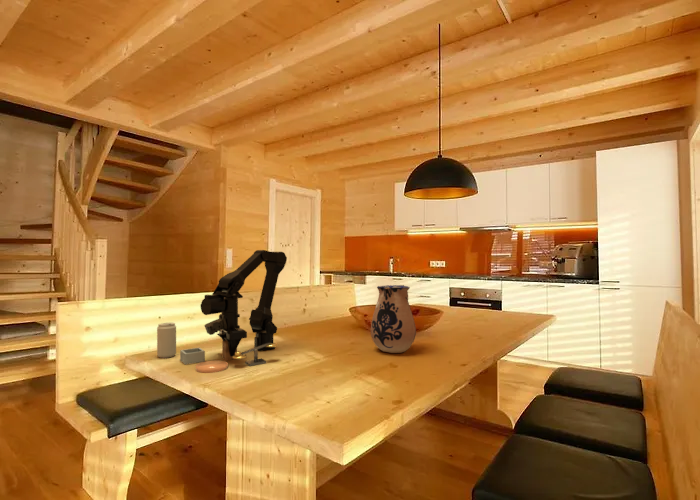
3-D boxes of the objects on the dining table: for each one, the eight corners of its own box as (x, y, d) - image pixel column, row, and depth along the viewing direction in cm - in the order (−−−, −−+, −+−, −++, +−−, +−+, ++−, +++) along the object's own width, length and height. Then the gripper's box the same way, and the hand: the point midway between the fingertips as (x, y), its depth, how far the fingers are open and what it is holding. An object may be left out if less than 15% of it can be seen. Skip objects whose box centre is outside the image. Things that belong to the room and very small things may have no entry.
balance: (274, 358, 145) (274, 340, 145) (279, 361, 142) (279, 342, 142) (230, 365, 136) (230, 346, 136) (235, 368, 132) (235, 349, 132)
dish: (222, 362, 140) (222, 358, 140) (232, 369, 132) (232, 365, 132) (192, 367, 134) (192, 363, 134) (200, 374, 126) (200, 370, 126)
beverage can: (168, 358, 145) (168, 325, 145) (153, 358, 146) (153, 324, 146) (179, 354, 151) (179, 322, 151) (164, 353, 152) (164, 321, 152)
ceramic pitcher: (364, 353, 152) (364, 287, 152) (381, 342, 172) (381, 283, 172) (410, 358, 145) (409, 288, 145) (422, 345, 165) (422, 284, 165)
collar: (199, 357, 147) (199, 347, 147) (204, 361, 141) (204, 351, 141) (180, 360, 143) (180, 350, 143) (185, 364, 137) (185, 354, 137)
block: (233, 356, 149) (233, 339, 149) (237, 358, 145) (237, 341, 145) (222, 357, 146) (222, 341, 146) (226, 360, 143) (226, 343, 143)
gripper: (199, 310, 149) (199, 352, 149) (215, 317, 134) (215, 364, 134) (229, 307, 155) (229, 348, 155) (247, 313, 140) (247, 358, 140)
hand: (229, 354), depth 146 cm, fingers closed on block, 4 cm apart
